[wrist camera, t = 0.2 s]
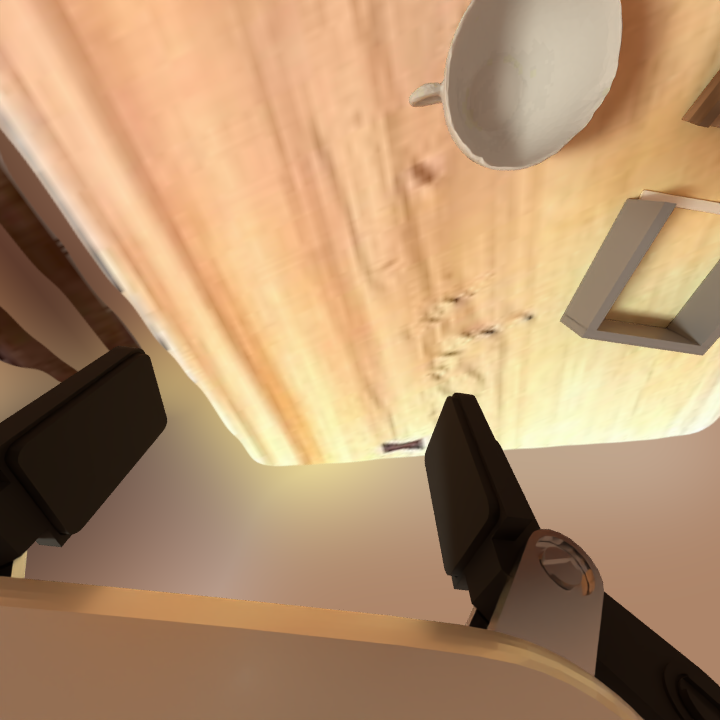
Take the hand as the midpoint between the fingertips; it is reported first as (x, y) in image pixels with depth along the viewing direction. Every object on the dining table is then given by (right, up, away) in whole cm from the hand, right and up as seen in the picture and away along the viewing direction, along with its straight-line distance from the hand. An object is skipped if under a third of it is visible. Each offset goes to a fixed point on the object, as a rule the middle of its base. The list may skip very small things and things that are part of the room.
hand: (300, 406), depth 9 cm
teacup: (+14, +27, +19) cm, 36 cm away
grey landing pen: (+39, +13, +27) cm, 49 cm away
